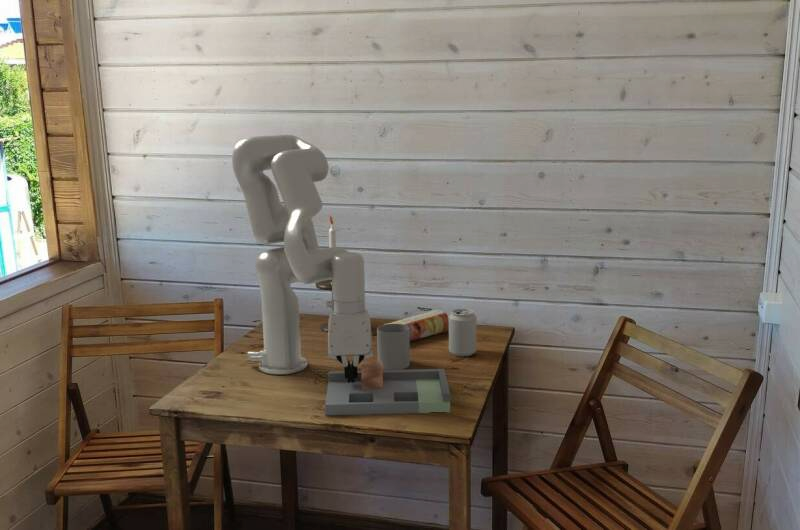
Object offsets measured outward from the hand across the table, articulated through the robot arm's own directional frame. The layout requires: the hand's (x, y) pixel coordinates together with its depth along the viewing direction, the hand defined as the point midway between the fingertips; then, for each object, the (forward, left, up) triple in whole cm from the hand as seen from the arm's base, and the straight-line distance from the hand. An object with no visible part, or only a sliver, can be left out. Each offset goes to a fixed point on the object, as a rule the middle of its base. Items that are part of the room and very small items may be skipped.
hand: (351, 380), depth 192 cm
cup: (+10, +21, -4) cm, 24 cm away
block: (+5, 0, -1) cm, 5 cm away
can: (+29, +29, -4) cm, 42 cm away
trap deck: (+8, -3, -4) cm, 10 cm away
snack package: (+17, +44, -4) cm, 47 cm away
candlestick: (-7, +54, -4) cm, 55 cm away
